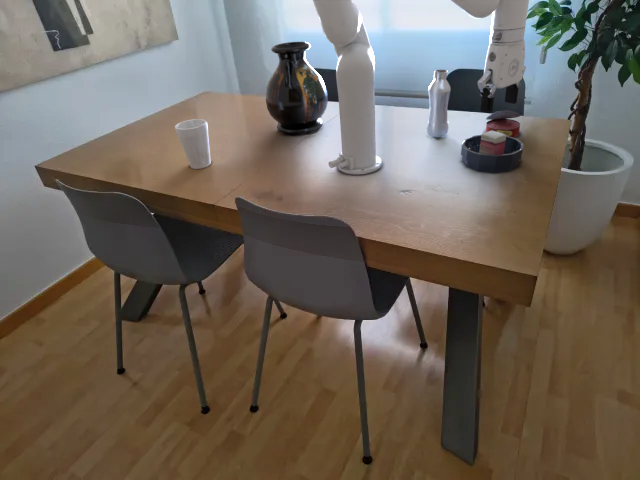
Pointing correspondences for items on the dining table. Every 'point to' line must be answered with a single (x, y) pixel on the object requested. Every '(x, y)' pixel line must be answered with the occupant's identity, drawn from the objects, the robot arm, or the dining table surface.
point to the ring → (491, 162)
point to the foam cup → (195, 142)
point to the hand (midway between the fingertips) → (498, 107)
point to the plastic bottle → (438, 104)
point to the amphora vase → (295, 91)
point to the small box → (492, 143)
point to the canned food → (503, 123)
